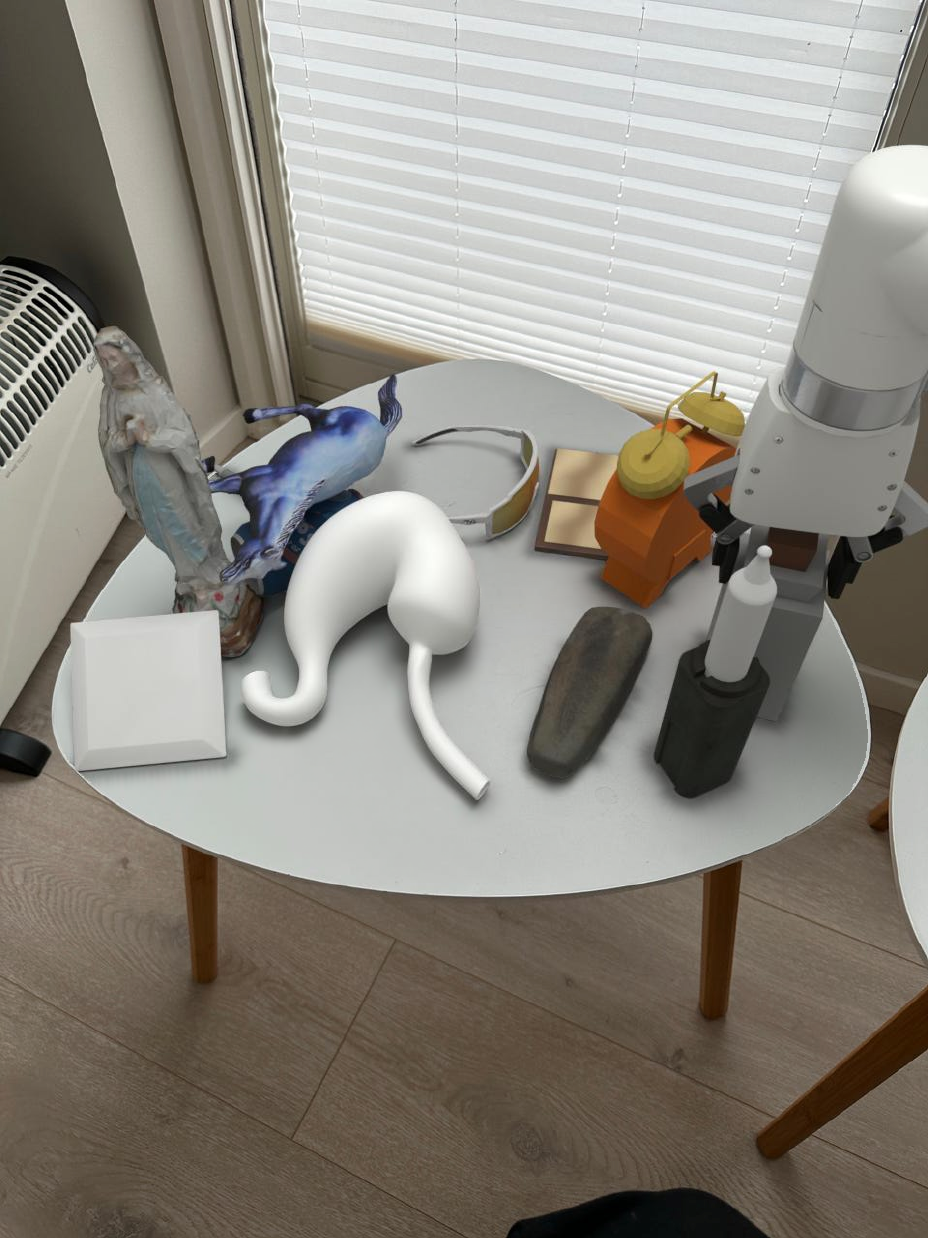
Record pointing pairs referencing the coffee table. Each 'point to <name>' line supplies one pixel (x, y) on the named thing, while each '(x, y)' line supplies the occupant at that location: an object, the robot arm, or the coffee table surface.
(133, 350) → the statue
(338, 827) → the coffee table surface
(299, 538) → the soda can
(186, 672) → the white chamfered tile
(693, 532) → the alarm clock
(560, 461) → the brown picture frame
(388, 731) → the coffee table surface
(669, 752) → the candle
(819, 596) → the perfume bottle
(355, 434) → the toy
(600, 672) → the decorative stone
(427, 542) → the stomach
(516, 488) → the sunglasses
